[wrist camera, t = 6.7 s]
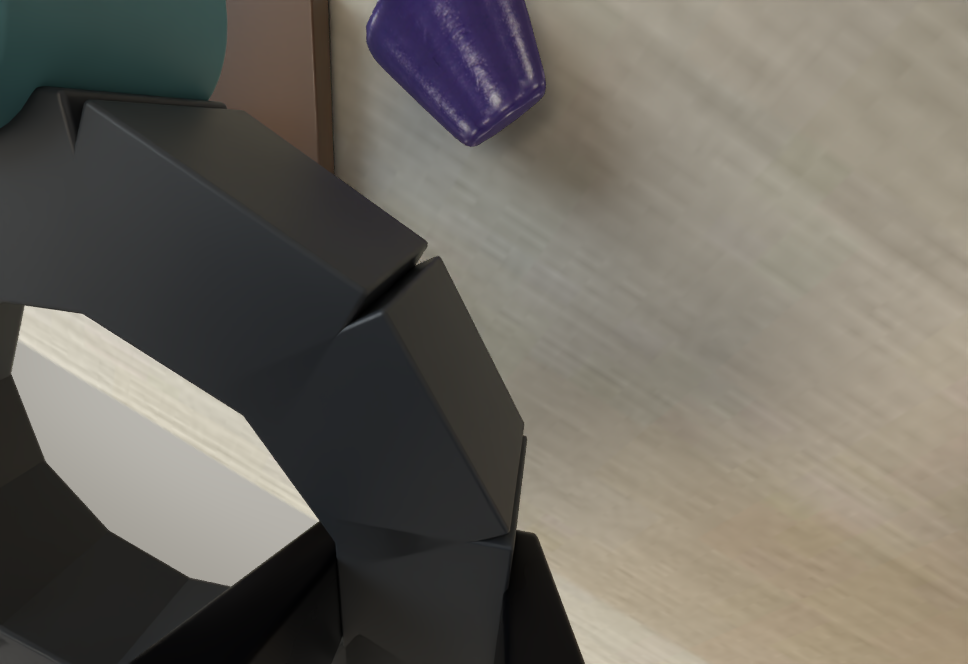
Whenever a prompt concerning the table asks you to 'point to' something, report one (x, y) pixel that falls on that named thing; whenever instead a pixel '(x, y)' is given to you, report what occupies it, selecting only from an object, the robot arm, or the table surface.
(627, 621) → the table surface
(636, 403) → the table surface
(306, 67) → the stand
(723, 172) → the table surface
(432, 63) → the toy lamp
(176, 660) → the robot arm
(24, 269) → the grey faceted ring
